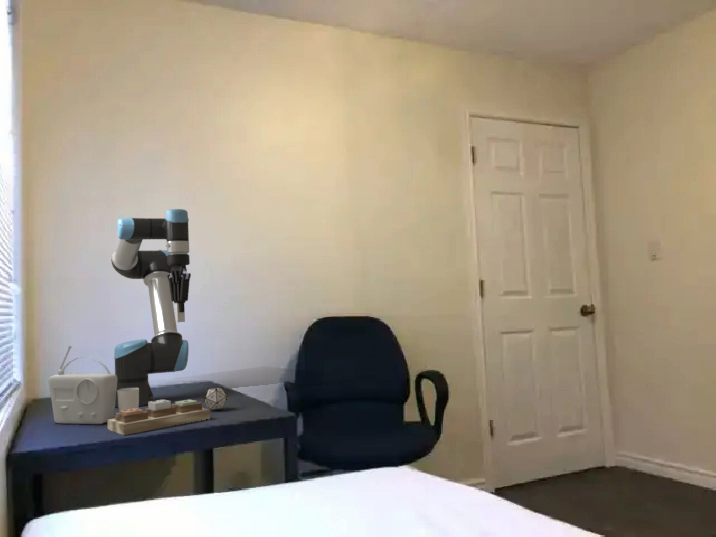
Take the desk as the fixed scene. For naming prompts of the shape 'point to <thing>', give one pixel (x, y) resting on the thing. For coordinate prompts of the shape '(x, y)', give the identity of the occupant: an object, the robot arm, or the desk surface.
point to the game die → (215, 398)
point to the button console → (157, 418)
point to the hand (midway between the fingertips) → (180, 321)
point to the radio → (83, 396)
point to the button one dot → (185, 402)
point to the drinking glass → (128, 398)
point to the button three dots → (131, 411)
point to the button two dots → (159, 404)
